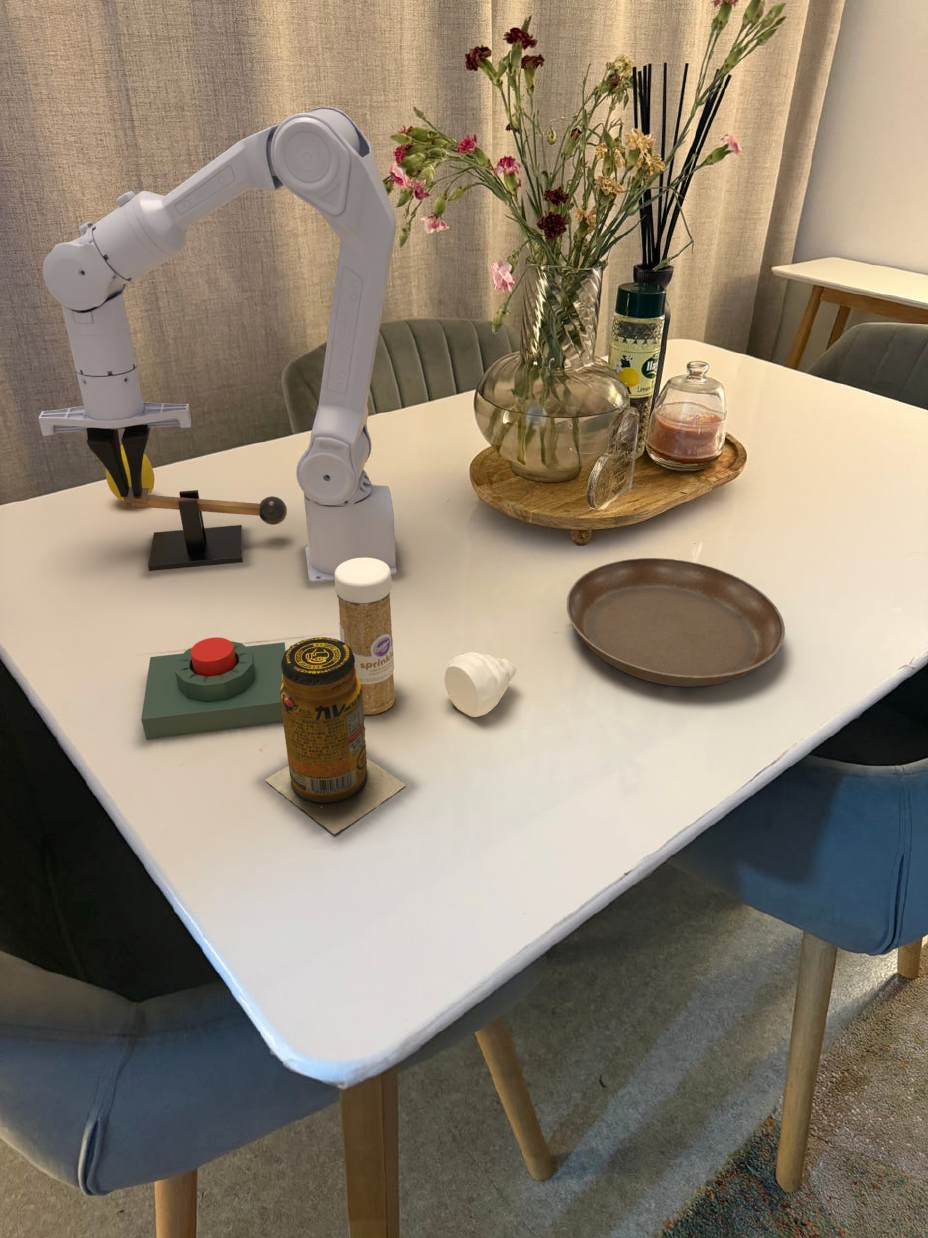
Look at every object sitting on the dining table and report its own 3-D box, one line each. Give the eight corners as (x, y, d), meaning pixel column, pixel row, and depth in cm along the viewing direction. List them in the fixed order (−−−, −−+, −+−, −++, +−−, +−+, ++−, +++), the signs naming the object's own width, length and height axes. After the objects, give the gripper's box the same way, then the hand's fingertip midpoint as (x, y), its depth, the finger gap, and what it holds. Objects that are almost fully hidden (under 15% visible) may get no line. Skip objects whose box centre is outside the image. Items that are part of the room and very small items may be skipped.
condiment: (336, 738, 74) (324, 618, 68) (406, 786, 70) (401, 663, 63) (265, 782, 70) (245, 658, 63) (334, 837, 65) (320, 710, 58)
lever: (285, 518, 103) (287, 492, 101) (286, 530, 100) (288, 504, 99) (126, 506, 98) (126, 479, 97) (123, 519, 96) (123, 492, 94)
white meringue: (531, 700, 79) (534, 650, 76) (482, 730, 75) (484, 678, 72) (487, 673, 82) (489, 624, 79) (439, 700, 79) (439, 650, 76)
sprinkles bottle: (377, 723, 76) (369, 588, 69) (334, 706, 78) (322, 574, 71) (406, 694, 79) (401, 563, 72) (364, 679, 81) (355, 550, 74)
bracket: (242, 532, 105) (234, 477, 101) (243, 564, 99) (234, 507, 95) (155, 539, 104) (143, 484, 100) (149, 573, 97) (137, 515, 93)
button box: (287, 661, 84) (282, 625, 81) (291, 721, 76) (286, 684, 74) (154, 676, 81) (146, 640, 79) (146, 739, 74) (136, 702, 72)
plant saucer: (825, 662, 84) (833, 633, 82) (655, 730, 75) (660, 700, 74) (680, 567, 99) (684, 540, 97) (524, 615, 90) (525, 587, 89)
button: (236, 651, 79) (233, 635, 78) (236, 675, 76) (233, 658, 75) (194, 656, 78) (191, 639, 77) (192, 680, 75) (189, 663, 74)
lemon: (146, 516, 108) (133, 455, 104) (104, 512, 109) (90, 451, 105) (167, 497, 113) (156, 438, 109) (127, 493, 114) (114, 434, 110)
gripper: (183, 353, 93) (202, 473, 100) (36, 358, 90) (66, 481, 98) (180, 373, 87) (200, 499, 95) (22, 380, 85) (55, 509, 92)
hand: (131, 492), depth 96 cm, fingers closed, pressing on lever
